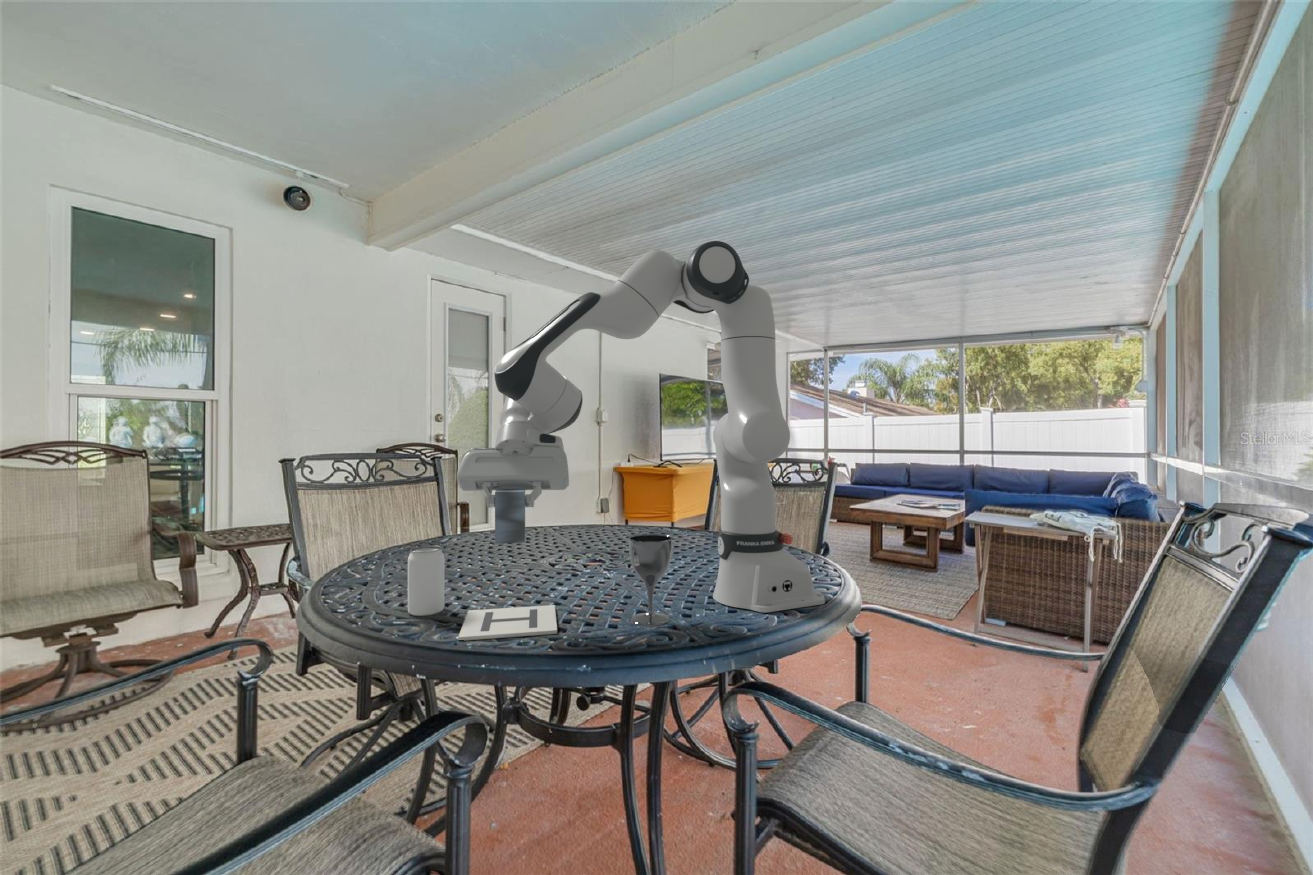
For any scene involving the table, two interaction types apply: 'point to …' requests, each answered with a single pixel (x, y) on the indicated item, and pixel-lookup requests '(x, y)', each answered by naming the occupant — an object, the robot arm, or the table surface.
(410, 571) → the can
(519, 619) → the letter board
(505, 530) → the slate block
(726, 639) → the table surface
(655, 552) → the wine glass
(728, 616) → the table surface
